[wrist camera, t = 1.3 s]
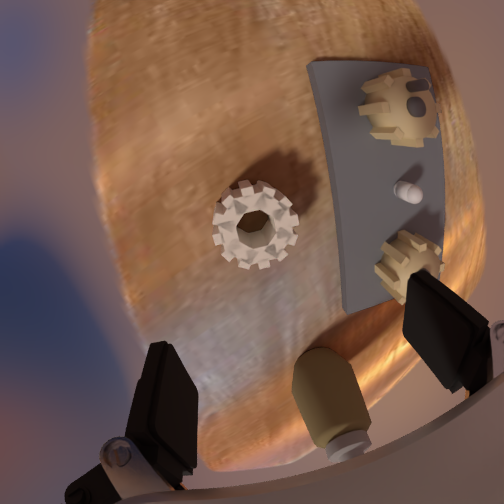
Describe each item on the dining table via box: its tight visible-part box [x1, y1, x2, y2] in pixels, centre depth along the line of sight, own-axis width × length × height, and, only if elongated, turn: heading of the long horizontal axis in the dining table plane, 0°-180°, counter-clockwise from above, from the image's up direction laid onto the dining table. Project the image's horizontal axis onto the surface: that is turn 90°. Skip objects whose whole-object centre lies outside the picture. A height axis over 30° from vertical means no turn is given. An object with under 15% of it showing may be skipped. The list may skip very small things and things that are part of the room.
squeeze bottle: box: [292, 347, 372, 462], centre depth 25 cm, size 8×8×18 cm
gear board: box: [306, 61, 445, 315], centre depth 22 cm, size 26×14×8 cm, turn 12°
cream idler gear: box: [212, 180, 299, 269], centre depth 23 cm, size 7×7×4 cm
